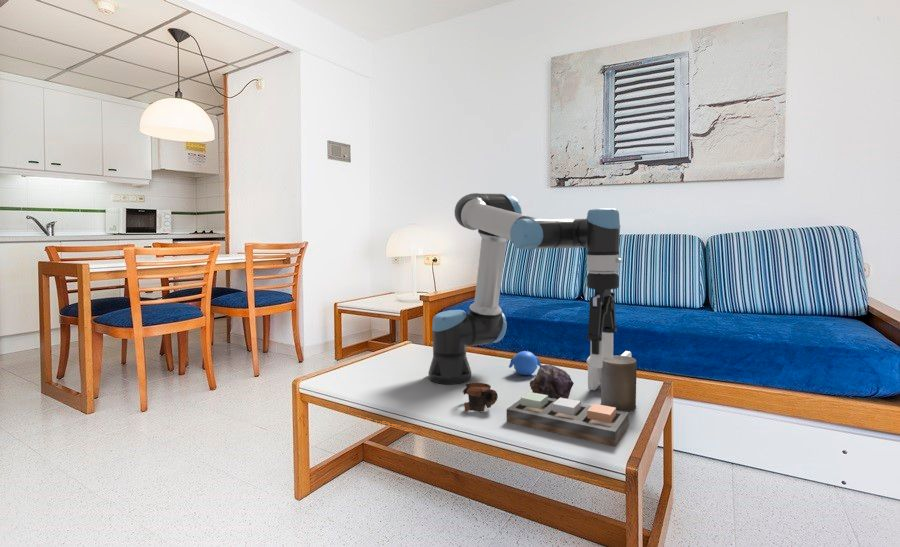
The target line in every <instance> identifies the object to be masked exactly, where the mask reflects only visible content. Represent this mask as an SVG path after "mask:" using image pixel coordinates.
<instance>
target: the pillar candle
mask: <svg viewBox="0 0 900 547" xmlns="http://www.w3.org/2000/svg"><path fill="white" fill-rule="evenodd" d="M621 355H622V354H619V355H617V354H616V355H614V354H613V359H611V358H603V366H602V368H601V385H600V405H604V406H610V407H615V408H616V410H618V411H624V412H631V411H634V410H636V409H637V359H636V358H634V357H632V356H631V357H628V356H621Z"/></svg>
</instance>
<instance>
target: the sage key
mask: <svg viewBox="0 0 900 547" xmlns="http://www.w3.org/2000/svg"><path fill="white" fill-rule="evenodd" d="M520 399H521V405H523V406H528V407H533V408H538V409H541V408H542V407H543V406H544V405H546V404H547V403H548V395H544V394H538V393H533V392H532V391H528V392H527V393H525V394H524V395H523V396H521V397H520Z"/></svg>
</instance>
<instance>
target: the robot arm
mask: <svg viewBox="0 0 900 547" xmlns="http://www.w3.org/2000/svg"><path fill="white" fill-rule="evenodd" d="M586 214H587V215H586V217H585V218H537V217H534V216H533V217H532V216H528V215H525V214H523V213H522V207H521V205H520V203H519V200H518V198H516V197H515V196H513V195H511V194H504V193H477V192H476V193H469V194H466V195H464V196H461V198H460V199H458V201H457V202H456V204H455V207H454V219H455V221H456V222H457V223H458V225H460V227H463V228H466V229H468V230H472V231H476V230H477V233H478V235H479V236H480V237H481V242H480V250H479V258H478V267H477V276H476V285H475V294H474V302H473V303H471V304H470V305H469V309H468V312H467V313H466V311H465V310H462V309H449V310H445V311H441V312H438V313H436V314H435V315H434V316H433V318H432V326H431V329H432V360H431V362H430V366H429V369H428V375H427V376H428V380H429V381H431V382H432V383H436V384H441V385H442V384H444V385H455V384H456V385H457V384H462V383H465V382H466V383H467V382H468V381H471V380H472V369H471V366H470V363H469V361H468V358H467V357H468V356H467V347H473V346H480V345H481V346H482V345H491V344H494V343H498V342H501V341H502V339H504V336H505V335H506V332H507V326H508V323H507V318H506V316H505V314H504V312H503V310H502V308H501V307H500V305H499V302H500V294H501V288H502V287H501V286H502V278H503V272H504V264H505V257H506V248H507V241H511V243H512V244H513V245H514V247H515V248H516V249H521V250H528V251H530V250H542V249H543V250H544V249H575V248H577V249H584V248H585V249H586V251H587V252H586V254H587V255H586V271H588V273H587V274H586V287H587V288H588V289H593V290H594V293H593V296H590V298H589V313H588V323H587V324H588V326H587V335H586V341H589V342H590V348H589V350H590V351H589V352H590V354H589V356H590V367H597V368H602V366H603V358H611V359H613V355H614V333H618V328H617V325H616V310H615V306H616V305H615V304H616V303H615V296H616V293H615V292H614V291H612V290H616V289H618V288H619V287H620V274H619V273H617V272H619V271H620V263H622V259H621V258H620V236H621V235H620V233H621V223H620V221H621V220H620V212H619V210H618V209H616V208H594V209H590V210H589V209H588V210H587V213H586Z"/></svg>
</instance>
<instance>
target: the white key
mask: <svg viewBox="0 0 900 547" xmlns="http://www.w3.org/2000/svg"><path fill="white" fill-rule="evenodd" d="M581 402H582V400H576V399H571V398H568V399H566V398H559V399H558V400H557V401H555V402H554V403H553V412H558V413H563V414H568V415H573V416H574V415H575V414H576V413H577V412H578V411H579V410H580V409H581V404H582V403H581Z"/></svg>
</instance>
